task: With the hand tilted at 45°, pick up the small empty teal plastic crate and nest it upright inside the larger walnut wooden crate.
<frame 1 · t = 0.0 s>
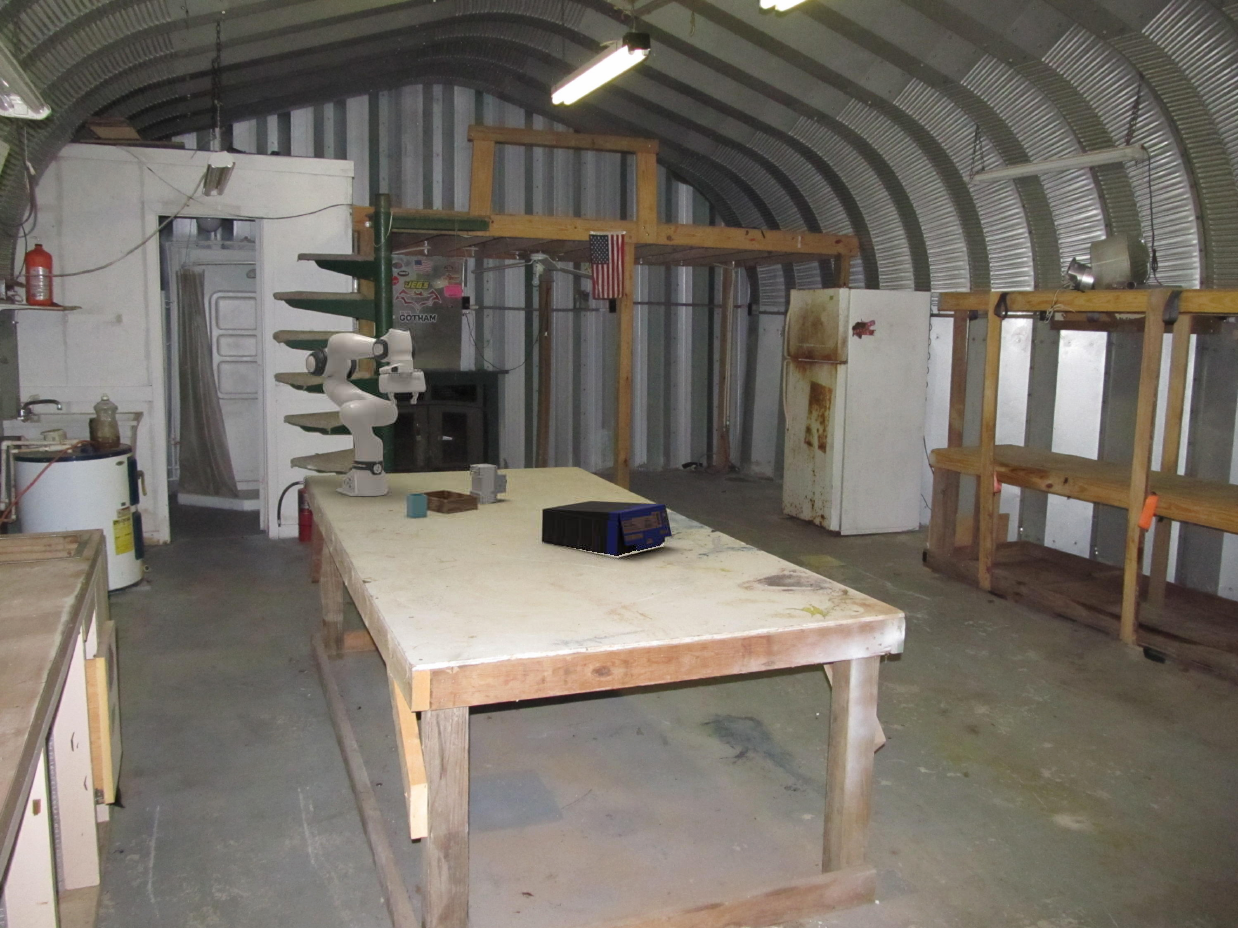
hand: (403, 404, 369), 39 cm above the workbench, tool pointing down, fingers open, 8 cm apart
black and blue box: (606, 546, 305), on the workbench
circuit breaker: (489, 502, 380), on the workbench
walnut crate: (445, 507, 362), on the workbench
teal crate: (416, 516, 343), on the workbench
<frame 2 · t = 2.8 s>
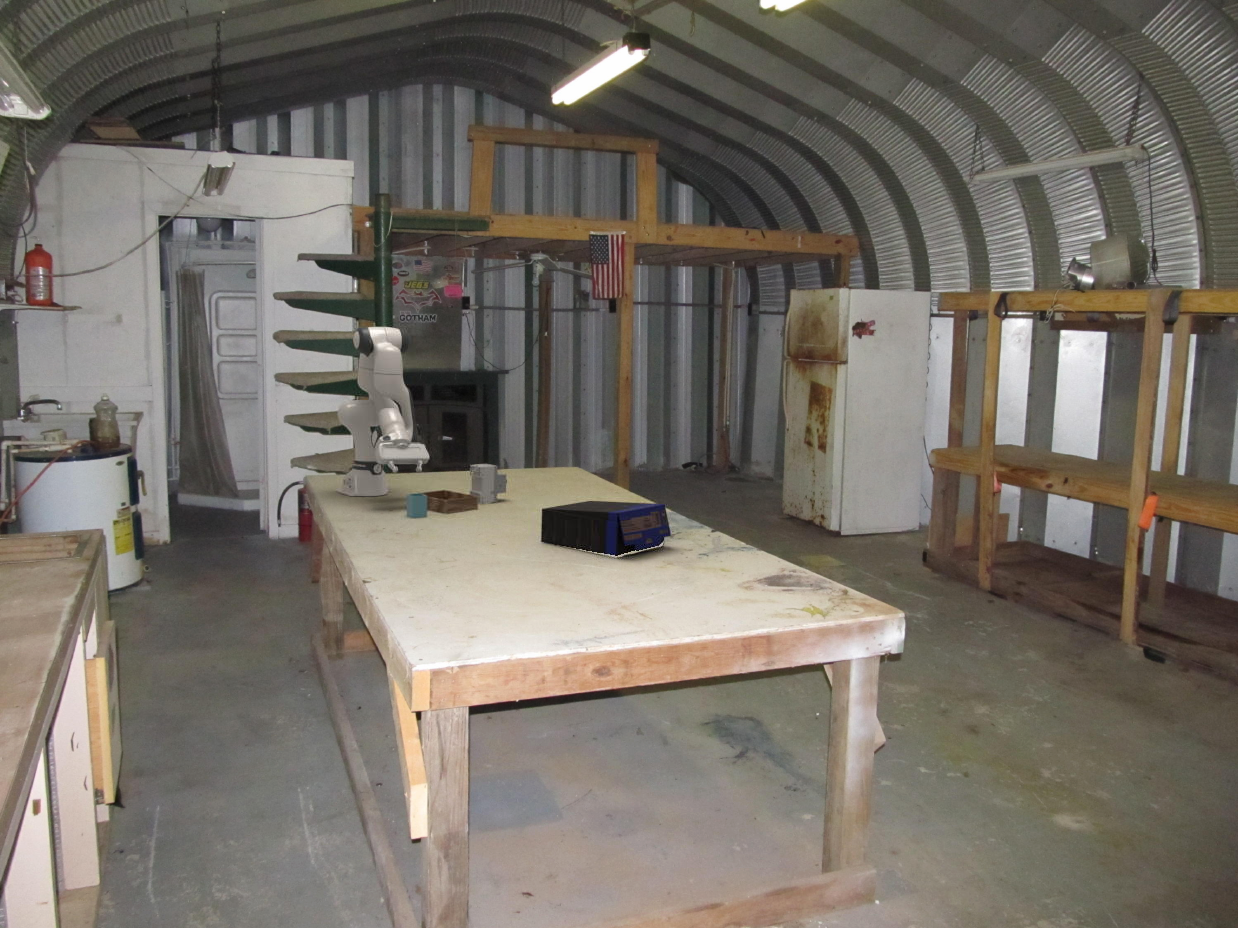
hand: (407, 471, 351), 15 cm above the workbench, tool tilted 45°, fingers open, 8 cm apart
nothing on the workbench moved.
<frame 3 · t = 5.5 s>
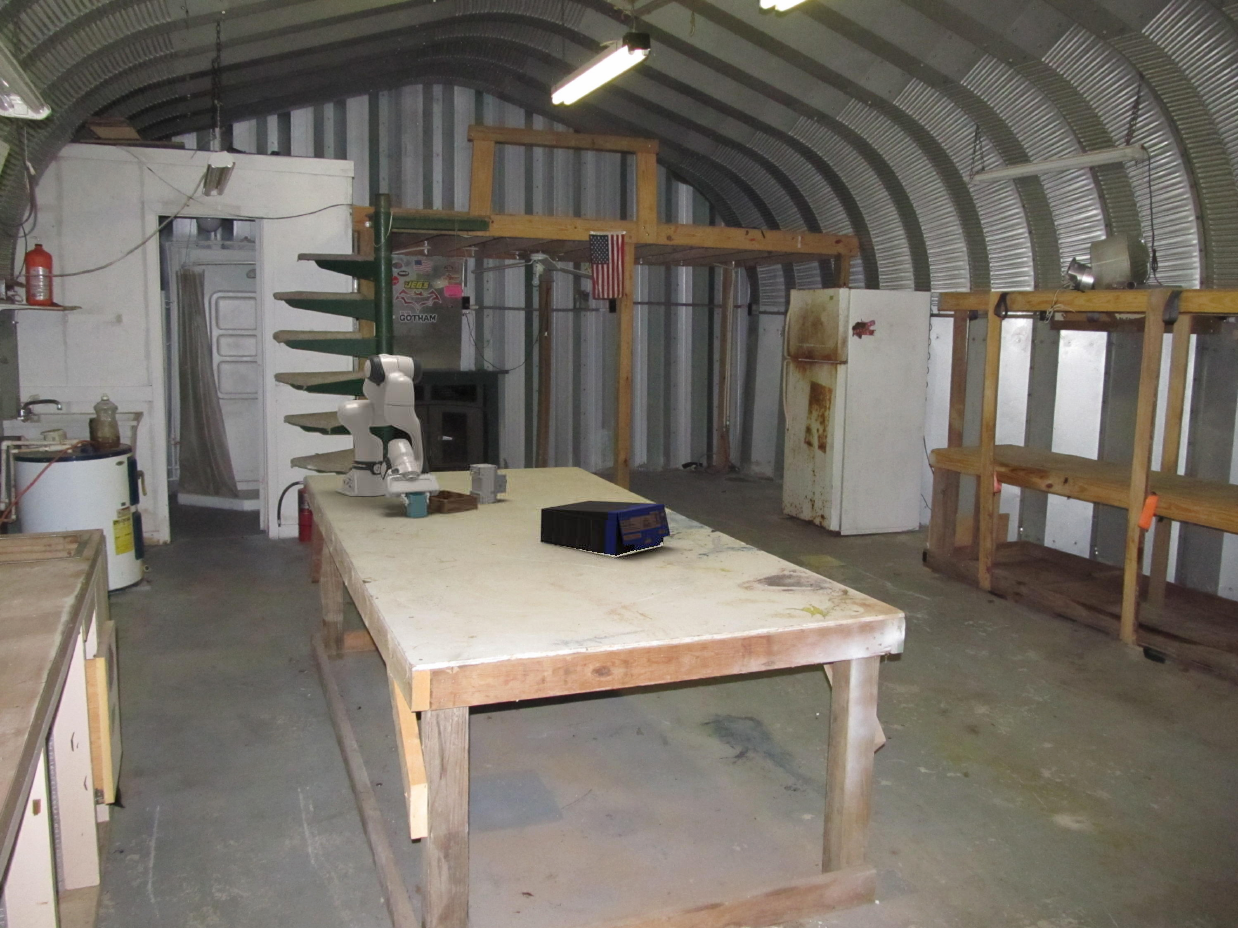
hand: (417, 504, 342), 4 cm above the workbench, tool tilted 45°, fingers closed on teal crate, 6 cm apart
teal crate: (416, 516, 343), on the workbench, touching gripper
everything else where it was.
when the fingers open (7 cm above the workbench, at t = 11.2 s): teal crate drops 1 cm, resting on walnut crate.
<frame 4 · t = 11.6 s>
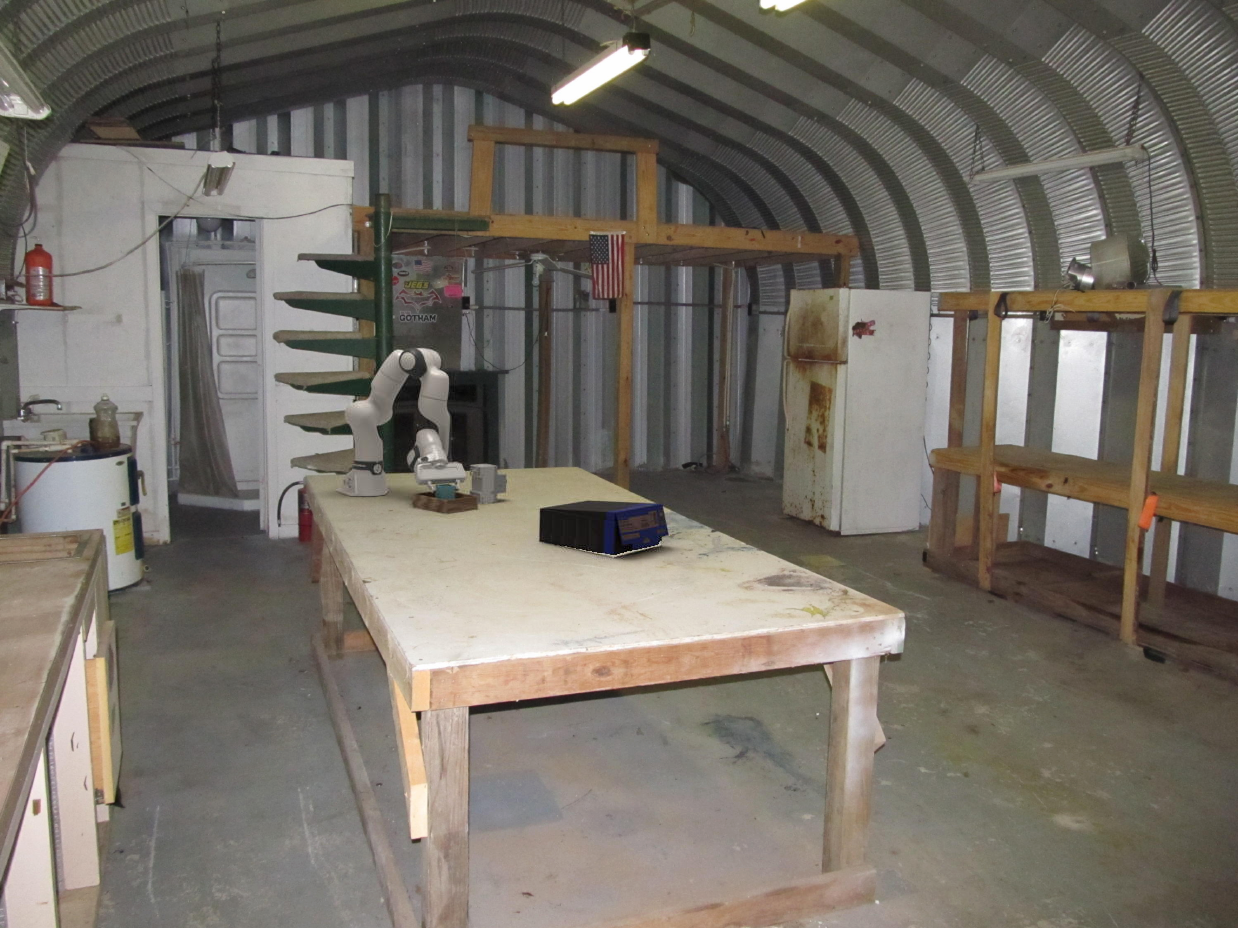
hand: (445, 491, 361), 7 cm above the workbench, tool tilted 45°, fingers open, 8 cm apart
teal crate: (444, 505, 362), point 1 cm above the workbench, touching walnut crate
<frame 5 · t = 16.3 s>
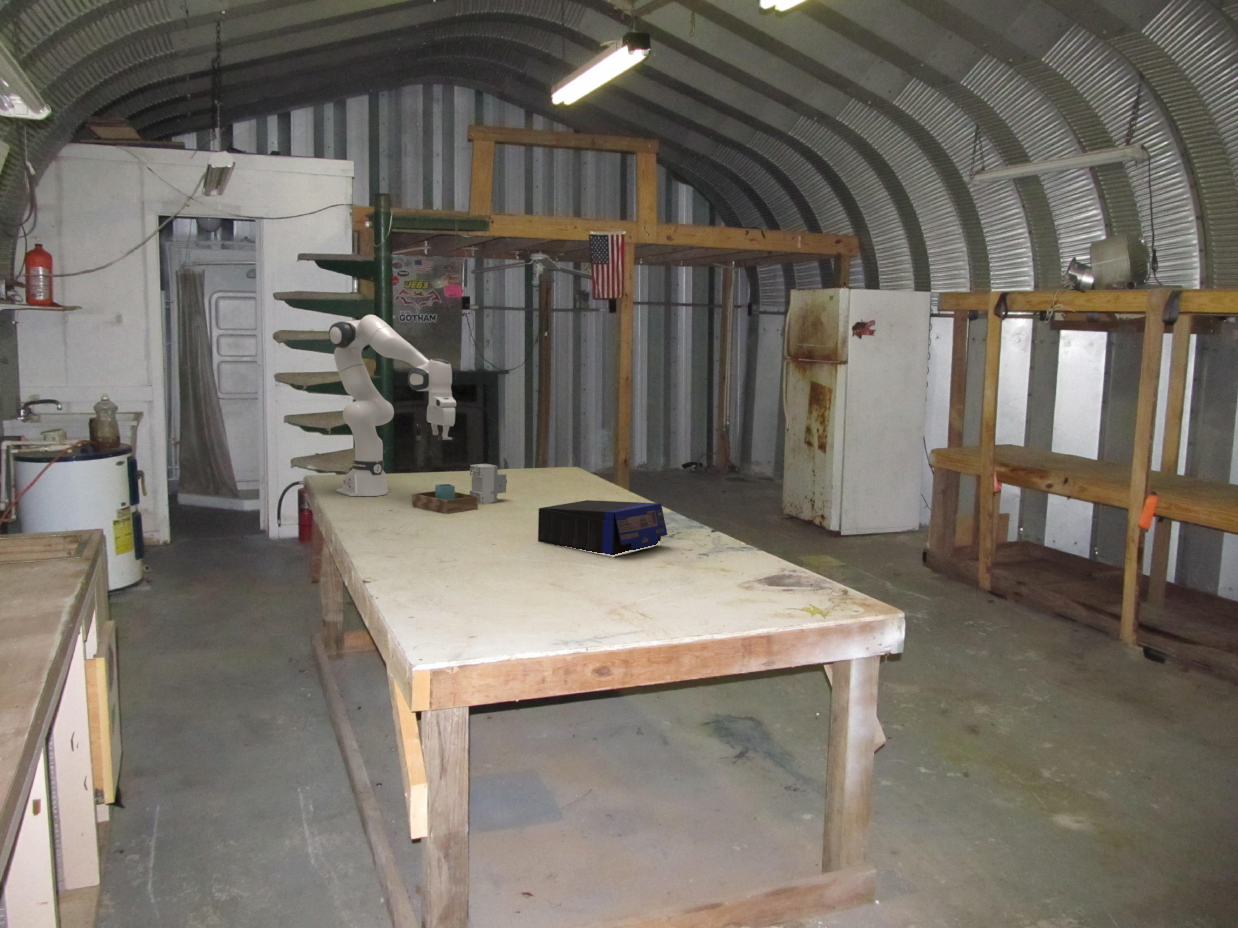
hand: (440, 436, 366), 27 cm above the workbench, tool pointing down, fingers open, 8 cm apart
at the end: teal crate inside the target area on the walnut crate (0.1 cm from its centre), point 0.8 cm above the walnut crate's base; teal crate tilted 0°; the gripper is holding nothing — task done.
